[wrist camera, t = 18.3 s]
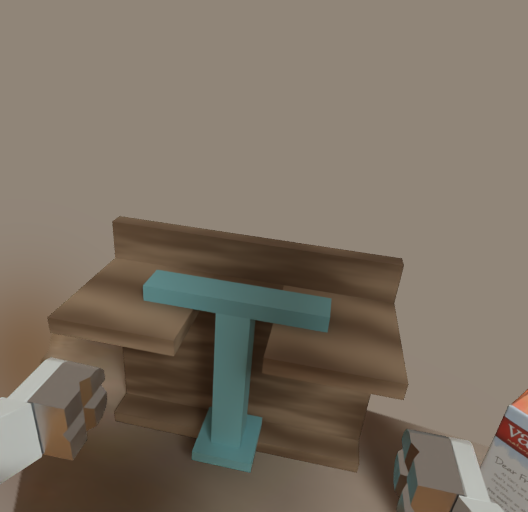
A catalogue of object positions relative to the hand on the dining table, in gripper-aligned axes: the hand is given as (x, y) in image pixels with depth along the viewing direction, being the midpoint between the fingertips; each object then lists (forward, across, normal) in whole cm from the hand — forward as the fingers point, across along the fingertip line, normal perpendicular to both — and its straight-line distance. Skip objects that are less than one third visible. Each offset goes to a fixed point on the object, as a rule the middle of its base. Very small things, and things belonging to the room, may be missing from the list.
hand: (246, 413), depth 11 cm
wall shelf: (+23, +5, +32) cm, 39 cm away
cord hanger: (+23, +5, +29) cm, 37 cm away
